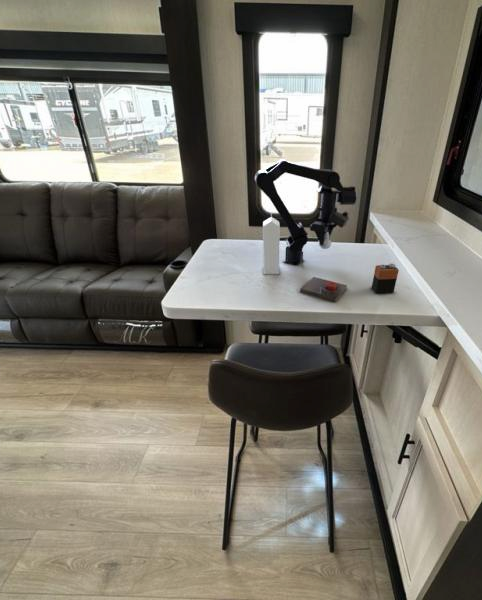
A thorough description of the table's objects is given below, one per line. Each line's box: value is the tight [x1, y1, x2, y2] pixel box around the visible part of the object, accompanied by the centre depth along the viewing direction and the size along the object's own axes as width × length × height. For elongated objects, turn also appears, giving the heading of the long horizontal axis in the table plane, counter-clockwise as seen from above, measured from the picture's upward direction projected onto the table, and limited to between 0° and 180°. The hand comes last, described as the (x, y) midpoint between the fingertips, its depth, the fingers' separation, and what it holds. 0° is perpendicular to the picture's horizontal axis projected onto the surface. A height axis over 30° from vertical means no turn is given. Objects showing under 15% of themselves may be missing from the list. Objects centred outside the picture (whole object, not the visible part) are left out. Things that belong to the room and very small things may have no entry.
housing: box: [299, 276, 348, 303], centre depth 106 cm, size 13×12×4 cm
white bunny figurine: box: [317, 232, 332, 250], centre depth 126 cm, size 5×7×8 cm
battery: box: [371, 263, 400, 295], centre depth 106 cm, size 4×7×10 cm, turn 99°
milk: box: [262, 214, 281, 275], centre depth 114 cm, size 6×6×22 cm
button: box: [325, 281, 337, 290], centre depth 102 cm, size 4×4×2 cm
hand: (324, 243), depth 127 cm, fingers closed on white bunny figurine, 6 cm apart
